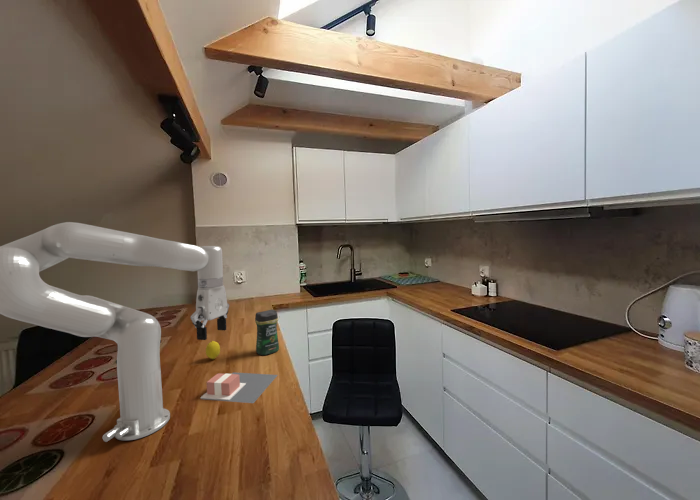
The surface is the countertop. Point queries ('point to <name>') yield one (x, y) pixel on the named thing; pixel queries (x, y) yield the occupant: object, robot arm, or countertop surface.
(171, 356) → the countertop surface
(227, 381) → the card box
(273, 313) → the coffee jar
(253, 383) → the mat
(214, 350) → the lemon
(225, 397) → the pad
